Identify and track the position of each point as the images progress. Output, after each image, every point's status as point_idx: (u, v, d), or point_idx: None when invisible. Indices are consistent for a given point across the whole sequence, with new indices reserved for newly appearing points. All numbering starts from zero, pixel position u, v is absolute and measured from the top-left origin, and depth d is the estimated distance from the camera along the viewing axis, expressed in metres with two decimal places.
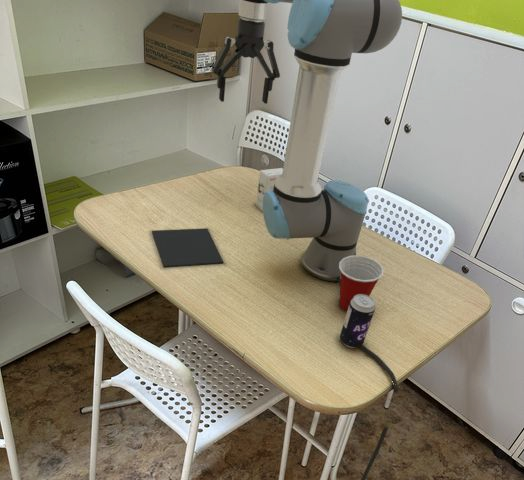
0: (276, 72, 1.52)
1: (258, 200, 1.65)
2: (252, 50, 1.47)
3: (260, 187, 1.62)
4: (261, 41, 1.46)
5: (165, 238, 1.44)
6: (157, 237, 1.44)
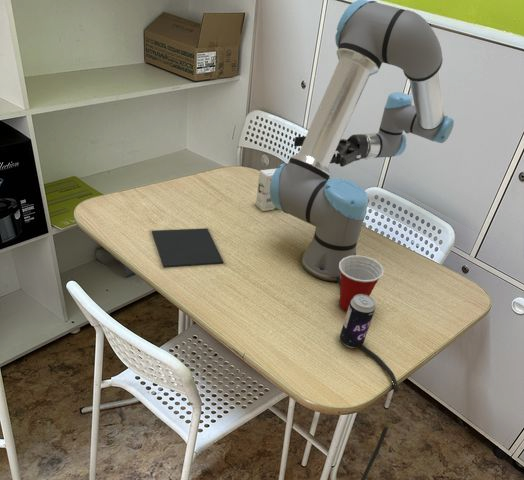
0: (344, 156, 1.57)
1: (258, 200, 1.65)
2: (344, 145, 1.64)
3: (260, 187, 1.62)
4: (355, 147, 1.63)
5: (165, 238, 1.44)
6: (157, 237, 1.44)
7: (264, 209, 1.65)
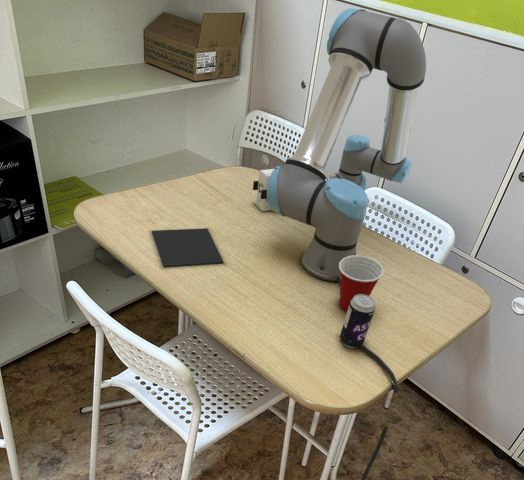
0: None
1: (258, 200, 1.65)
2: None
3: (260, 187, 1.62)
4: None
5: (165, 238, 1.44)
6: (157, 237, 1.44)
7: (264, 209, 1.65)
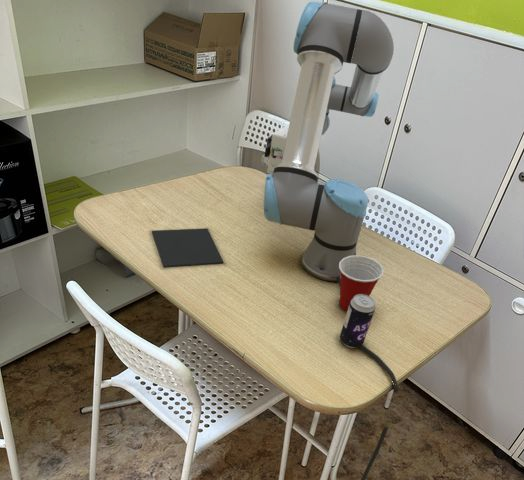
0: None
1: (272, 166, 1.56)
2: None
3: (275, 152, 1.53)
4: None
5: (165, 238, 1.44)
6: (157, 237, 1.44)
7: None
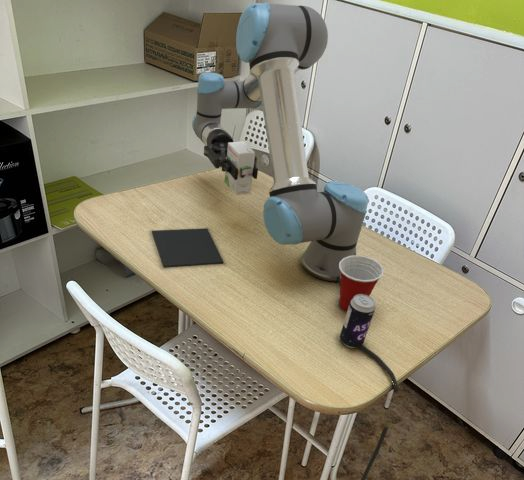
0: None
1: (241, 187, 1.44)
2: None
3: (243, 171, 1.41)
4: None
5: (165, 238, 1.44)
6: (157, 237, 1.44)
7: None
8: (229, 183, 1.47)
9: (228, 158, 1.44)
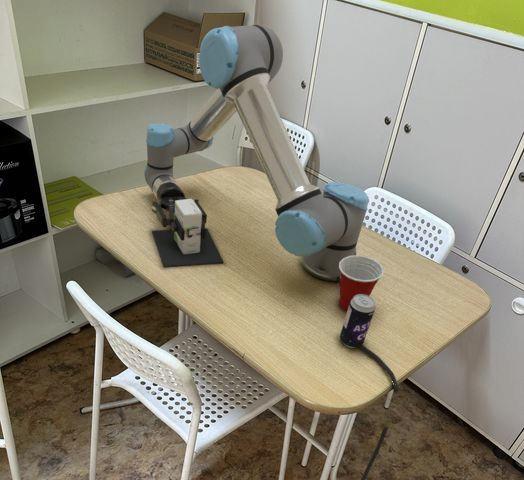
0: (202, 213, 1.42)
1: (189, 246, 1.38)
2: None
3: (191, 231, 1.35)
4: (184, 197, 1.47)
5: (165, 238, 1.44)
6: (157, 237, 1.44)
7: None
8: (178, 241, 1.41)
9: (175, 216, 1.38)
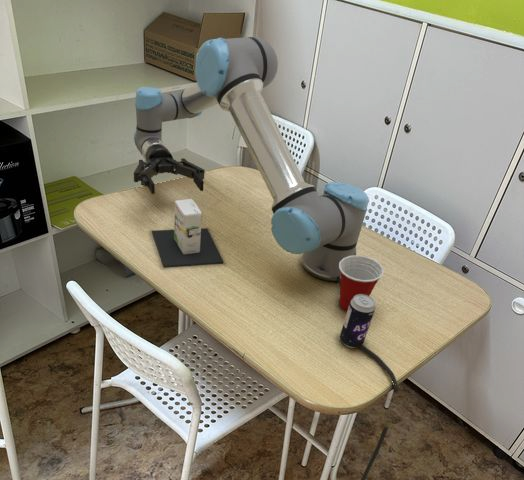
0: (199, 168, 1.49)
1: (189, 246, 1.38)
2: (166, 162, 1.49)
3: (190, 231, 1.35)
4: (172, 159, 1.52)
5: (165, 238, 1.44)
6: (157, 237, 1.44)
7: None
8: (178, 241, 1.41)
9: (175, 216, 1.38)
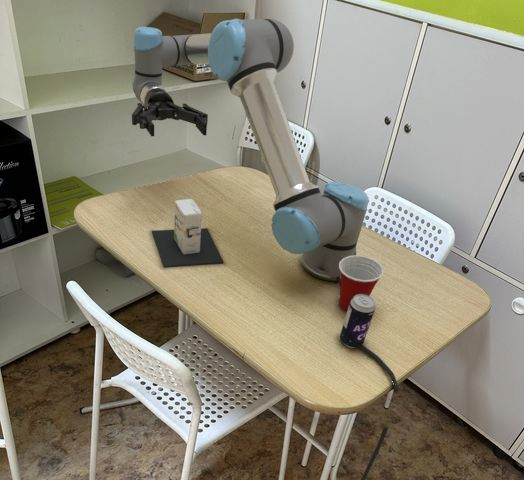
0: (202, 113, 1.39)
1: (189, 246, 1.38)
2: (167, 107, 1.39)
3: (190, 231, 1.35)
4: (173, 104, 1.42)
5: (165, 238, 1.44)
6: (157, 237, 1.44)
7: None
8: (178, 241, 1.41)
9: (175, 216, 1.38)
